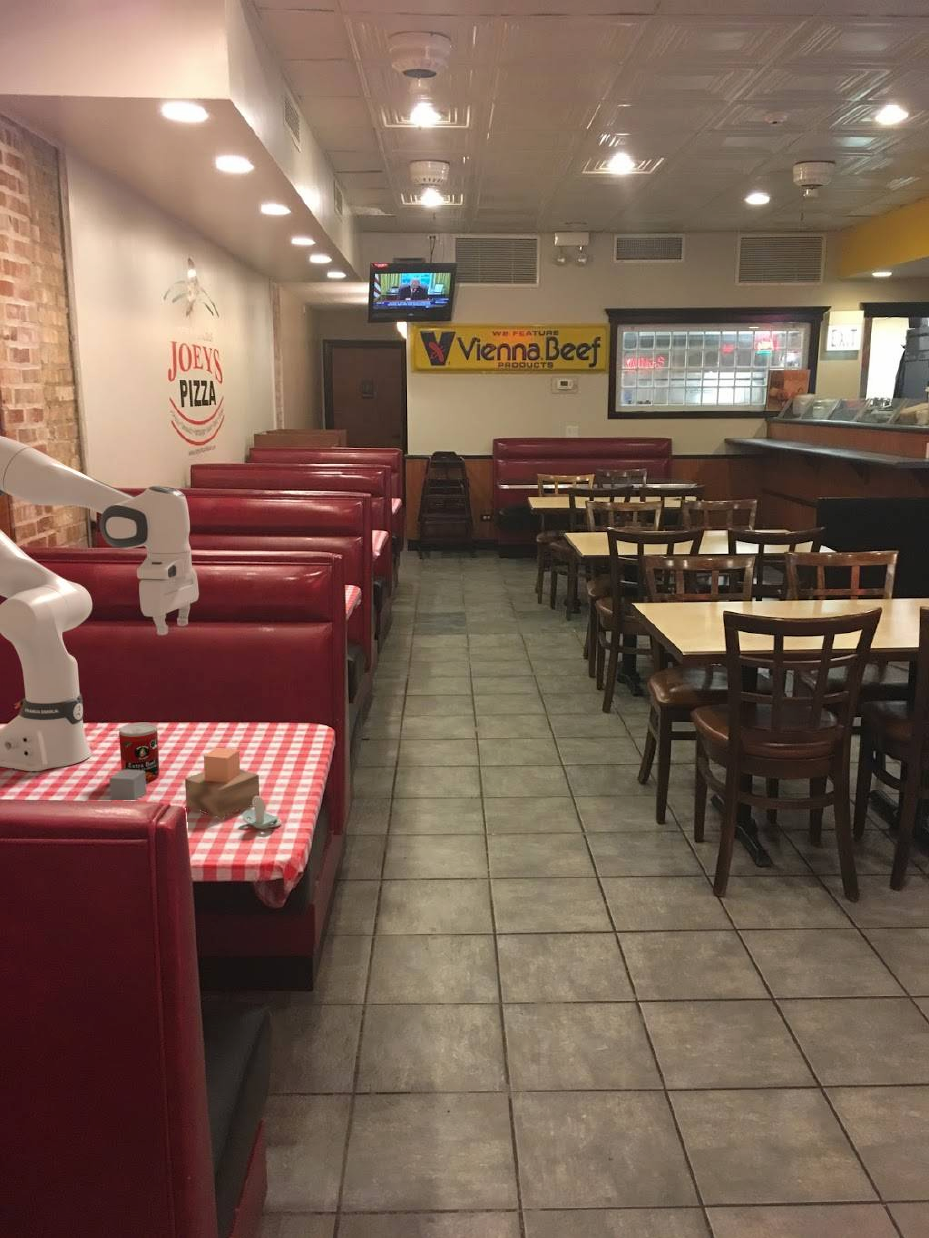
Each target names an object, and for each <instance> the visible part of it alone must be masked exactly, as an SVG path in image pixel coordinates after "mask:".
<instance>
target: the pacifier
mask: <svg viewBox="0 0 929 1238" xmlns="http://www.w3.org/2000/svg"><path fill="white" fill-rule="evenodd" d="M252 807H253V809H247V810H245V811H243V813H242V819H243V821H244V822H245V823H246V824H247V825H250V826H253V828H255V827H256V829H258V830H259V829H260V830H266V829H269V828H277V827H280V826H281V825H282V823H283V822H282V819H280V818H279V817H278V816H275V815H272V814H268V813H267V812H265V811H266V809H267V808H266V803H265V801H264V799H263V798H262V797H261V796H260V795H259V796H255V797H254V798H253V799H252Z"/></svg>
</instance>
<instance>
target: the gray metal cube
mask: <svg viewBox="0 0 929 1238" xmlns="http://www.w3.org/2000/svg"><path fill="white" fill-rule="evenodd" d="M109 789H110V801H111V800H138V801H139V800H140V799H141V798H143V797H145V796H146V795H147V782H146V777H145V771H141V770H125V769H120V770H119V771H118V772H116V773H114V774H113V775H112V776H110V777H109ZM138 798H140V799H138Z"/></svg>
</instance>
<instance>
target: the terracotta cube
mask: <svg viewBox="0 0 929 1238" xmlns="http://www.w3.org/2000/svg"><path fill="white" fill-rule="evenodd" d="M203 763H204V764H203V767H204V771H203V772H205V780H206V781H216V782H226V783H229V782H230V781H231V780H233V779H234V778H235V777H237V776H238V775H239V774H240V769H241V766H240V765H241V764H240V749H235V748H234V749H232V748H222V747H215V748H214V749H212V750H210V751H209V752H207V753H206V754H205V755H203Z"/></svg>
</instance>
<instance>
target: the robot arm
mask: <svg viewBox="0 0 929 1238" xmlns="http://www.w3.org/2000/svg"><path fill="white" fill-rule="evenodd" d="M5 493H6V494H8V495H10V496H12V497H13V498H16V499H18V500H20V501H22V502H26V503H28V504H32V505H37V506H41V507H44V506H46V507H47V506H54V507H56V506H57V507H58V506H69V507H70V506H71V507H82V508H85V509H89V510H92V511H94V512H97V513H99V514H101V516H100V520H99V528H100V529H99V530H100V533H101V535H102V538H103V539H104V540H105V541H106V543H107V544H108V545H110V546H112V547H113V548H116V549H123V550H129V549H134V548H140V547H145V548H146V558H145V559H144V561H143V562H142V563H141V564H140V565H139V567H137V569H136V576H137V579H140V581H139V586H138V588H139V589H138V591H139V592H138V593H139V604H140V610H141V613H142V614H143V616H145V617H152V620H153V622H154V623H155V626H156V634H157V635H158V636H166V635H167V634H168V633H169V625H167V624H166V623H167V622H166V620H165V619H167V616H166V615H167V614H168V613H171V612H173V611H175V610H177V609H178V617H176V621H177V622H176V623H177V624H176V625H177V626H178V627H185V626H187V625H188V624H189V621H188V619H189V614H190V609H191V604H193V603H195V602H197V601H198V599H199V596H200V592H199V591H200V590H199V581H198V575H197V571H196V569H194V568H193V564H192V548H191V545H190V542H189V536H190V532H191V522H190V514H189V513H190V512H189V506H188V501H187V498H186V495H185V494H184V493H183V492H182V491H181V490H180V489H177V488H173V487H170V486H161V485H158V486H156V485H155V486H154V485H153V486H149V487H147V488H146V489H145V490H144V491H143V492H142V493H140V494H138V495H135V496H134V495H132V494H129V493H127V492H125V491H122V490H120V489H119V488H116V487H113V486H111V485H108V484H107V483H104V482H103V481H99V480H97V479H95V478H93V477H90V476H88V475H85V474H84V473H82V472H80V471H77V470H76V469H74V468H73V467H70V466H68V465H66V464H64V463H62V462H60V461H58V460H57V459H55V458H52V457H51V456H49V455H47V454H45V453H44V452H42V451H40V450H38V449H36V448H34V447H32V446H30V445H28V444H25V443H23V442H20V441H19V440H15V439H13V438H10V437H6V436H1V435H0V499H1V498H2V497H3V496H4V494H5ZM0 596H1V597H3V598H6V599H5V600H4V601H3V602H2V603H1V604H0V634H1V635H2V637H3V638H5V639H6V640H7V641H9V642H10V643H11V644H12V645H13V648H15V650H16V652H17V653H16V654H17V655H18V657H19V660H20V663H21V669H22V673H23V674H22V676H23V683H24V684H23V685H24V693H25V694H24V695H25V697H24V698H23V699H21V700H20V701H19V702H16V703H14V706H15V707H14V709H15V710H16V709H18V708H20V709H19V713H18V715H17V716H16V717H15V718H13V719H12V720H11V721H10V722H8V723H7V724H6V725H4V726H3V727H2V728H1V729H0V767H2V768H8V769H13V768H14V769H15V770H20V771H25V772H26V771H28V772H32V771H36V772H41V771H44V770H47V769H48V770H49V769H54V768H61V767H66V766H71V765H75V764H77V763H80V762H83V761H85V760H86V759H88V758H90V757H91V756H92V750H91V747H90V745H89V742H88V738H87V736H86V730H85V727H84V721H83V718H84V706H83V705H84V704H83V696H82V693H81V692H80V682H79V668H78V667H79V666H78V662H77V660H76V657H74V656H73V655H71V654H70V653H69V652H68V651H67V648H66V646H65V643H64V640H63V639H64V638H63V633H64V632H68V631H70V630H73V629H75V628H77V627H78V626H80V625H82V623H83V622H85V621H86V620H88V618H89V616H90V615H91V614H92V610H93V601H92V596H91V594H90V593H89V591H88V589H86V587H84V586H82V585H81V584H80V583H76V582H73V581H70V580H68V579H65V578H63V577H61V576H59V575H58V574H57V573H55V572H53V571H52V570H50V569H49V568H47V567H45V566H43V565H42V564H41V563H39V562H37V561H36V560H35V559H33V558H32V557H30V556H29V555H28V554H26V553H25V552H24V551H23V549H21V548H20V547H19V546H18V545H17V544H16V543H15V542H14V541H13V540H12V539H11V538H10V537H9V536H8V535H6V533H5V532H3V531H2V529H0Z"/></svg>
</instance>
